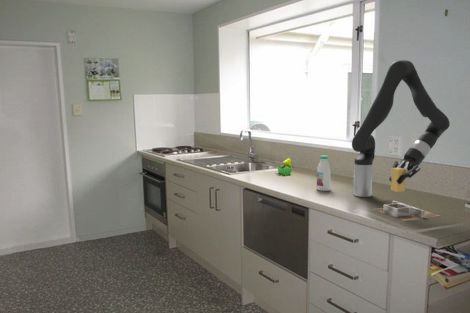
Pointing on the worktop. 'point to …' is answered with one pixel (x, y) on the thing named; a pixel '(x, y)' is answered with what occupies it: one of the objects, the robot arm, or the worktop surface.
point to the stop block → (394, 176)
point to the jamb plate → (404, 211)
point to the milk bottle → (323, 174)
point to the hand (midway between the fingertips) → (394, 181)
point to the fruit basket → (285, 167)
